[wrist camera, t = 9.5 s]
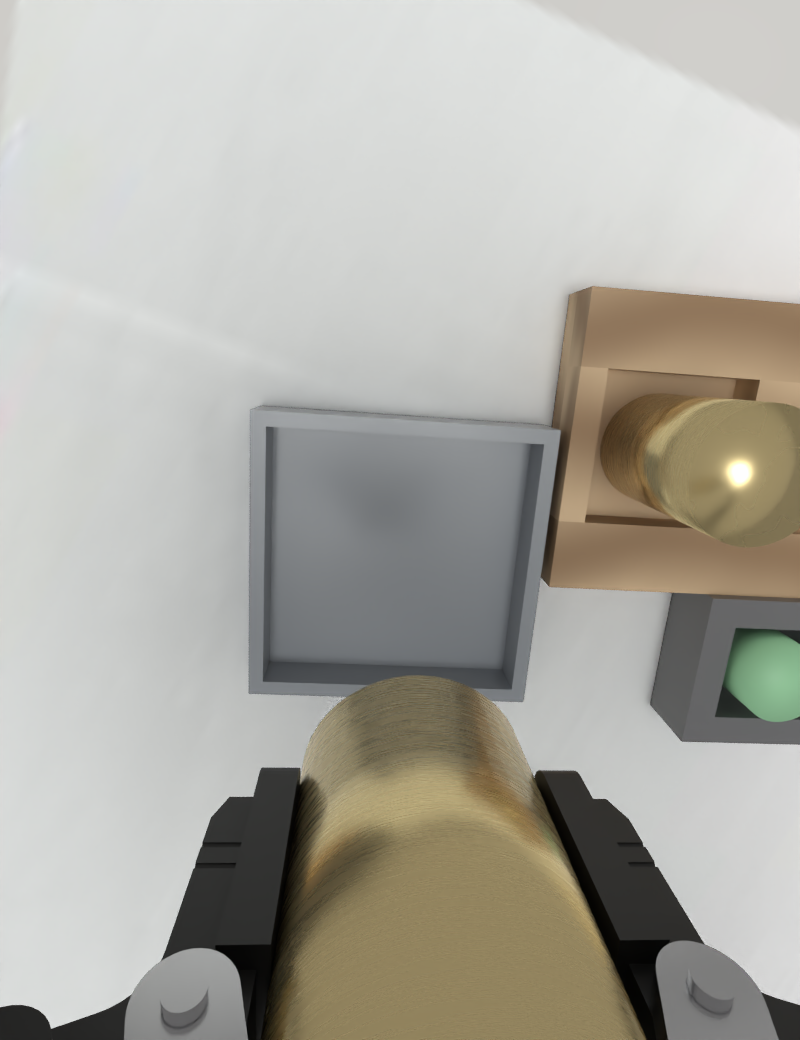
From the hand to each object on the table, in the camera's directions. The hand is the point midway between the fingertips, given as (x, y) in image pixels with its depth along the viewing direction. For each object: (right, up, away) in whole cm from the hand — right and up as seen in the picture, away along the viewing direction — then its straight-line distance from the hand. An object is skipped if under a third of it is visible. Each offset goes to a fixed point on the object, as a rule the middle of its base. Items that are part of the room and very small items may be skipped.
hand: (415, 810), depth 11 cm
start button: (+16, -1, +17) cm, 23 cm away
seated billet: (+11, +9, +14) cm, 19 cm away
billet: (0, 0, +1) cm, 1 cm away
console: (+16, -1, +18) cm, 24 cm away
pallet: (+15, +9, +15) cm, 23 cm away
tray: (-1, +4, +15) cm, 16 cm away
